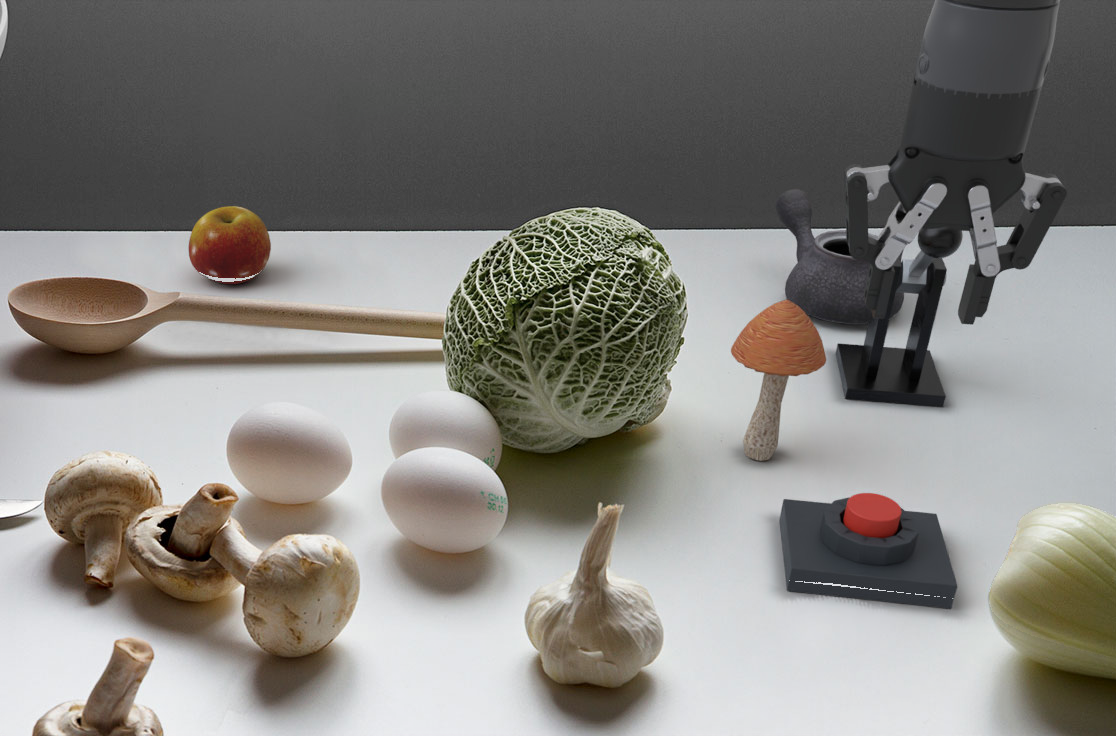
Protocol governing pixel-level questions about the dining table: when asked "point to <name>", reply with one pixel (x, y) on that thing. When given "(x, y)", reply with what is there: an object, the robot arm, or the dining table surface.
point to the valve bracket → (897, 353)
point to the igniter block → (865, 556)
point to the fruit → (229, 244)
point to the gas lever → (927, 257)
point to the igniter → (872, 515)
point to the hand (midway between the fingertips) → (920, 315)
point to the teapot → (825, 268)
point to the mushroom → (776, 366)
